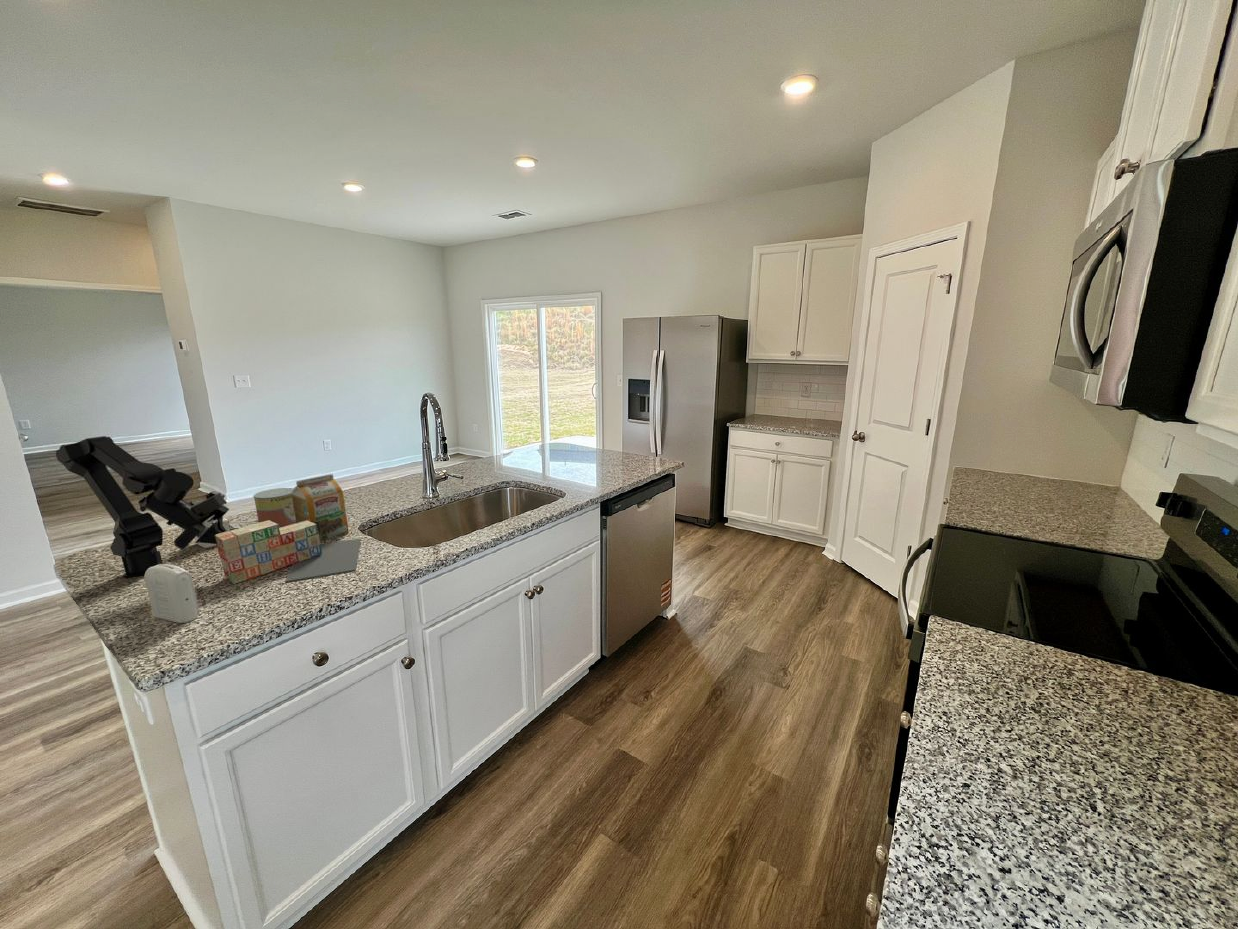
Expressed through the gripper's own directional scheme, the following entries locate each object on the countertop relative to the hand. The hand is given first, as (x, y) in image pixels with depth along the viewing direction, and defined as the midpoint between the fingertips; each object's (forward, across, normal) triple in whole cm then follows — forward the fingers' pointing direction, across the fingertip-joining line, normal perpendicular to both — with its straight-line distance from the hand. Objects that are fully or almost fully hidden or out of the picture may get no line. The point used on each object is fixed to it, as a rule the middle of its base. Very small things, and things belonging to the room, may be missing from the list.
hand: (235, 544), depth 130 cm
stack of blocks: (+11, 0, 0) cm, 11 cm away
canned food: (+6, +35, +6) cm, 36 cm away
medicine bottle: (-5, +27, +16) cm, 32 cm away
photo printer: (+2, -22, +9) cm, 24 cm away
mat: (+20, +1, -9) cm, 22 cm away
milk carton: (+16, +23, -5) cm, 28 cm away
